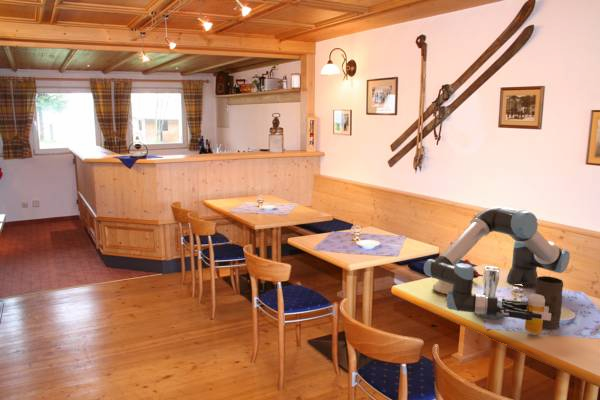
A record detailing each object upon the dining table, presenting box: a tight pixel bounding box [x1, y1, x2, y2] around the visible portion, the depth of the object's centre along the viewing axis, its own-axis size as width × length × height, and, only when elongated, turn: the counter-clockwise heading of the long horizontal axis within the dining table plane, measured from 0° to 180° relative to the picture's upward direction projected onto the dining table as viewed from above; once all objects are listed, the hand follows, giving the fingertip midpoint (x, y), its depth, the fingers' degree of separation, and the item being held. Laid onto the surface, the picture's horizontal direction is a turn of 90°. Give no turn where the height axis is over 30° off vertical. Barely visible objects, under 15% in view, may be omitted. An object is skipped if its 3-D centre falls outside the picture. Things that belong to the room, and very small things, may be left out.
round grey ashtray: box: [473, 299, 504, 320], centre depth 216 cm, size 12×12×5 cm
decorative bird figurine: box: [463, 259, 483, 279], centre depth 256 cm, size 3×18×10 cm, turn 16°
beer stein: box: [534, 275, 564, 330], centre depth 207 cm, size 15×11×20 cm
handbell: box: [432, 241, 454, 295], centre depth 239 cm, size 15×15×25 cm
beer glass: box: [482, 266, 500, 297], centre depth 232 cm, size 7×7×15 cm
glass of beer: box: [524, 293, 545, 336], centre depth 195 cm, size 6×6×15 cm
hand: (549, 313), depth 193 cm, fingers closed on glass of beer, 6 cm apart
